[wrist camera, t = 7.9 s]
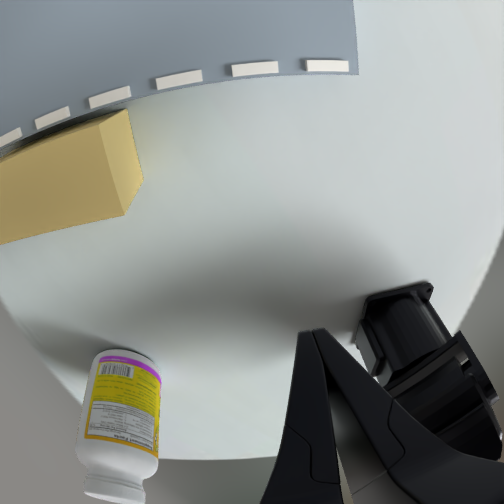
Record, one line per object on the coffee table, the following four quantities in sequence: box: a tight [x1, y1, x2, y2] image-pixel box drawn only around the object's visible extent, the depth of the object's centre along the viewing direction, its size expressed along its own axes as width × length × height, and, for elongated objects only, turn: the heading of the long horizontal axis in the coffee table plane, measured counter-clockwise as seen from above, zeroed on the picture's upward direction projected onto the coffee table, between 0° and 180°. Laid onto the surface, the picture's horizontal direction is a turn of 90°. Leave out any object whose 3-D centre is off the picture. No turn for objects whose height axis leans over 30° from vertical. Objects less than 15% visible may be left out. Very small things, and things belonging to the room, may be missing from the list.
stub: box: [0, 109, 144, 245], centre depth 12 cm, size 8×4×4 cm, turn 96°
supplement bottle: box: [75, 349, 162, 504], centre depth 19 cm, size 7×7×13 cm
